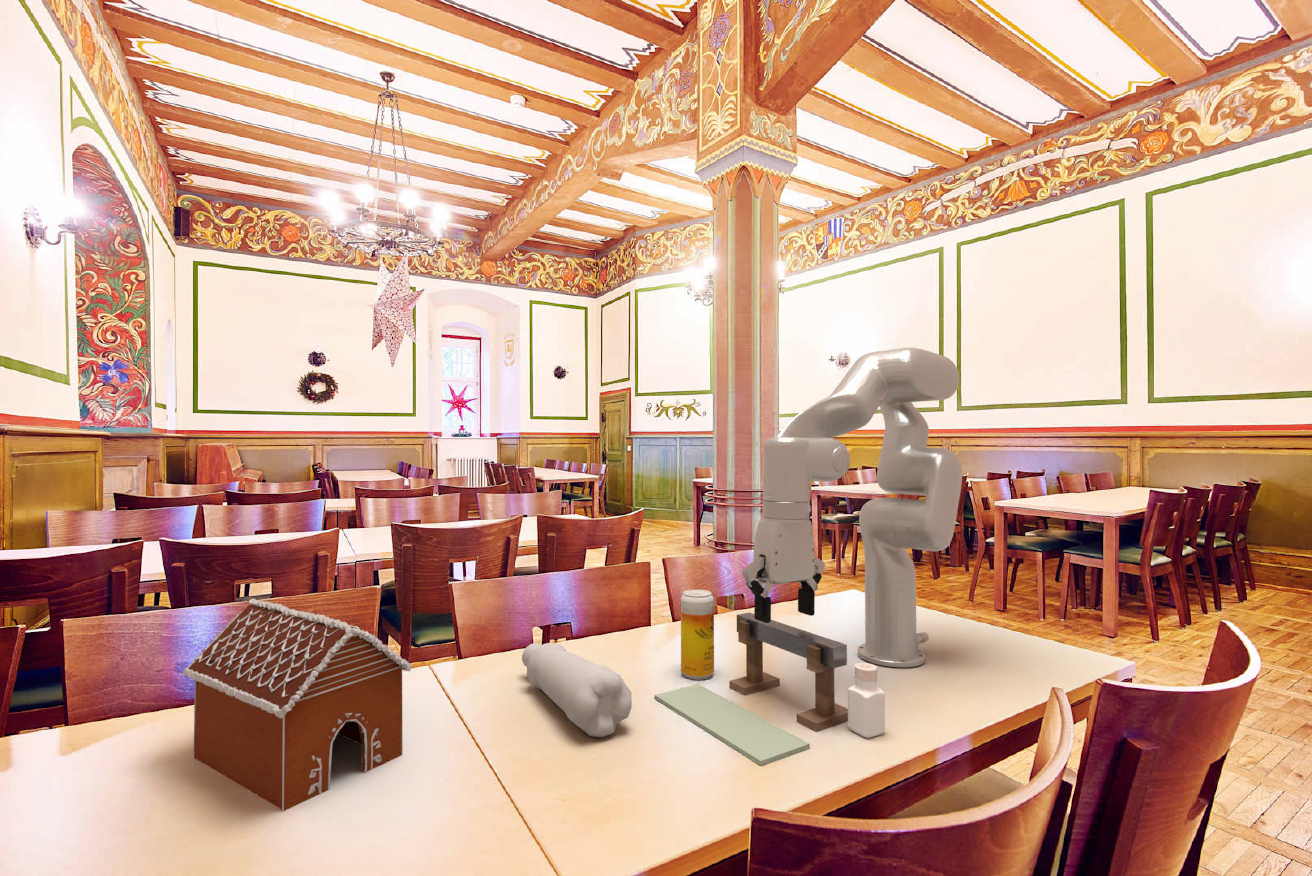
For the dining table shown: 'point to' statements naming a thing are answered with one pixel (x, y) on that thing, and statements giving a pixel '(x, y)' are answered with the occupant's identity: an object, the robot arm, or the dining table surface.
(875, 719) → the salt shaker
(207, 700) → the gingerbread house
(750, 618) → the rail
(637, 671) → the dining table surface
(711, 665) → the beer can
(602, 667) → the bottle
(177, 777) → the dining table surface
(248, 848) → the dining table surface
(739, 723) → the board
